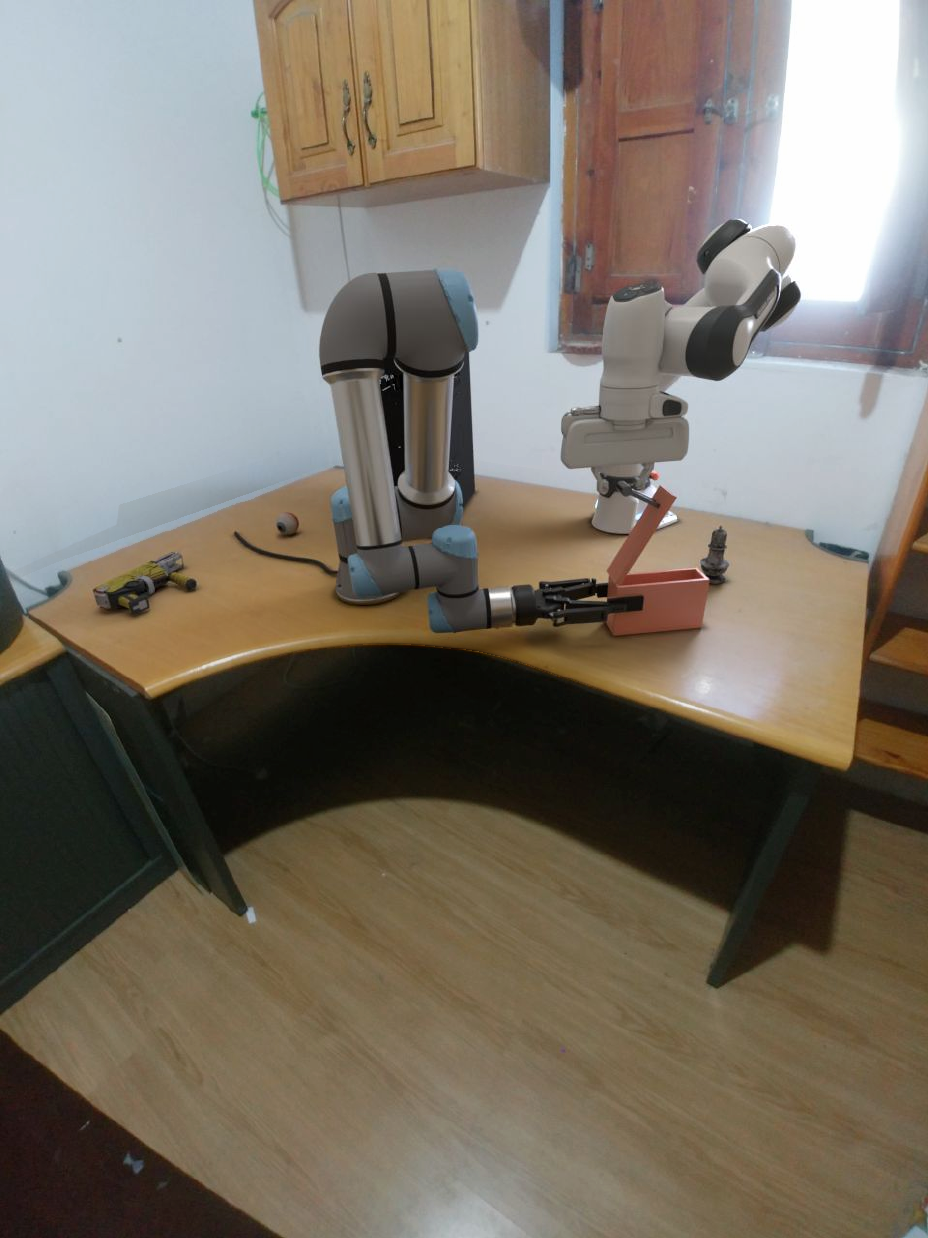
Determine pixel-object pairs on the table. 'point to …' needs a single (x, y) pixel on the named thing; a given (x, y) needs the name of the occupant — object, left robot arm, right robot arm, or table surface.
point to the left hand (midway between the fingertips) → (636, 595)
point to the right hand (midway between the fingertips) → (620, 490)
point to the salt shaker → (716, 557)
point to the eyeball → (287, 523)
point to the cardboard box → (459, 425)
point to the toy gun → (141, 584)
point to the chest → (660, 601)
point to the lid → (639, 529)
